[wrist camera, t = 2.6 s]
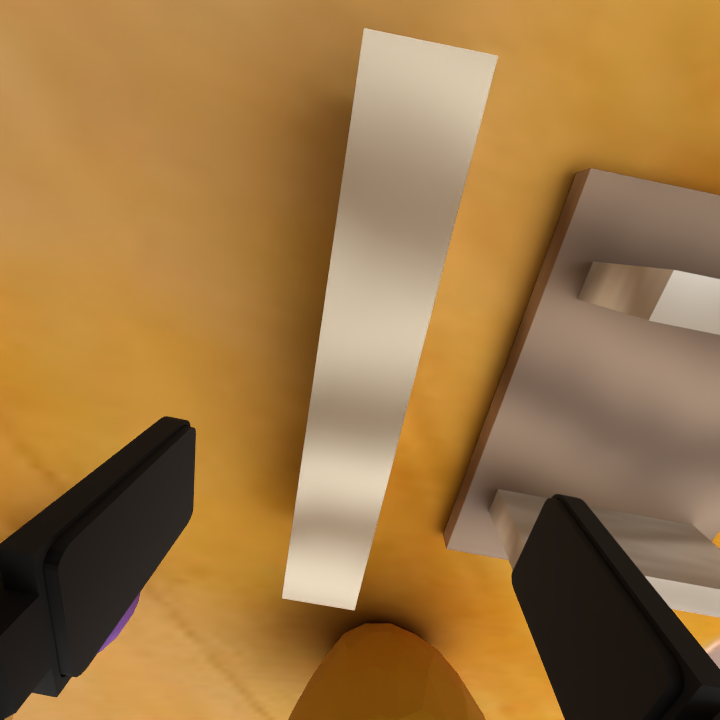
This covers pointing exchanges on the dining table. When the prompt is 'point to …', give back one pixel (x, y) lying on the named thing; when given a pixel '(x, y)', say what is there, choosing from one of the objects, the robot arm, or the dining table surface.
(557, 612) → the robot arm
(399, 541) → the dining table surface
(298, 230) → the dining table surface
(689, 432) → the rail rest
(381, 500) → the beech bar
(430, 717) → the apple
